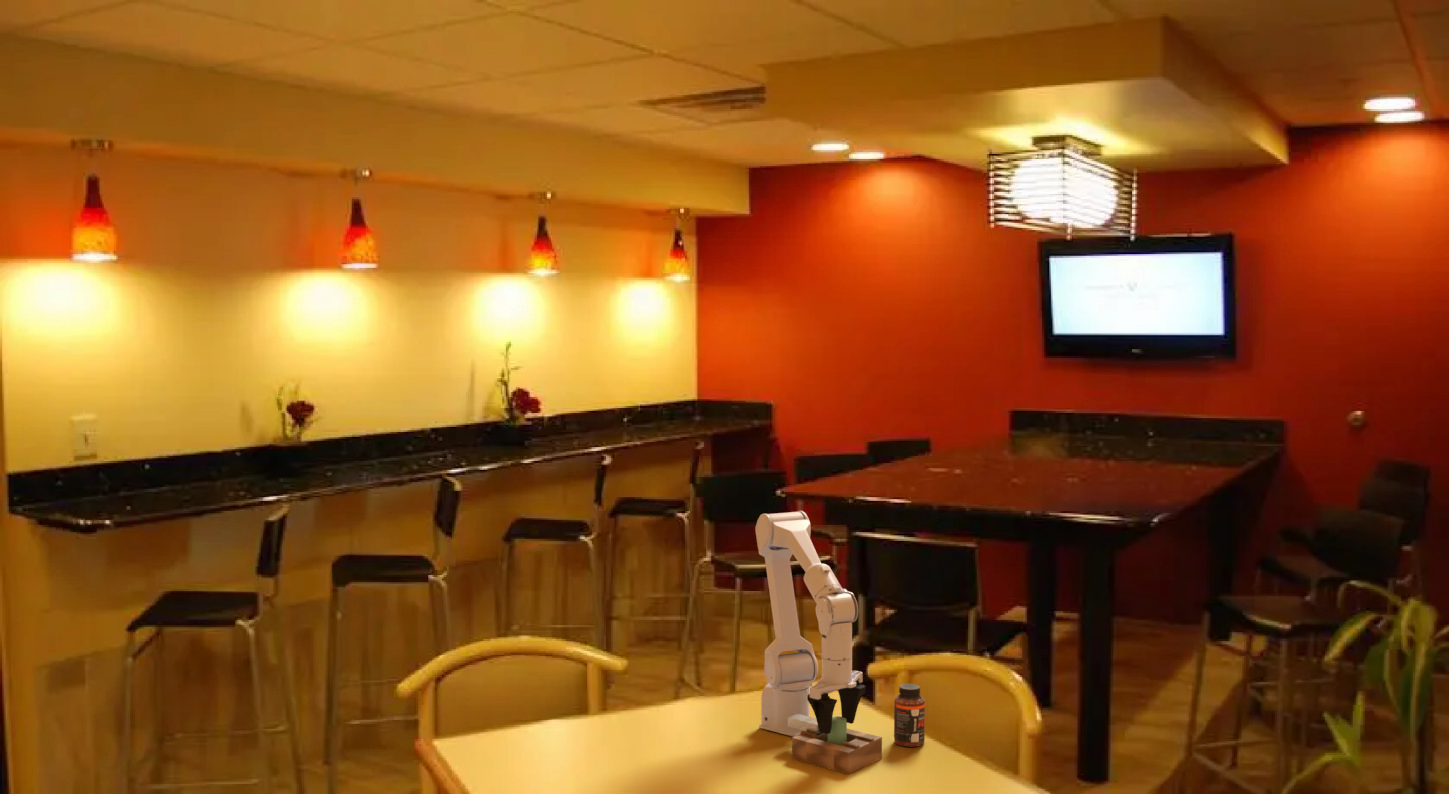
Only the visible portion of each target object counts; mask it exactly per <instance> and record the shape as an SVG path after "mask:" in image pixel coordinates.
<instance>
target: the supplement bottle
mask: <svg viewBox="0 0 1449 794" xmlns="http://www.w3.org/2000/svg"><path fill="white" fill-rule="evenodd" d="M898 692H899V695H896V696H895V698H894V703H893V704H894V707H893V711H894V712H893V714H894V715H893V717H894V719H893V720H894V722H893V723H894V724H893V732H894V733H893V737H894V742H895V743H896V744H897V745H899V746H902V747H905V746H906V747H908V748H910V747H911V748H916V747H917V748H918V747H920V746H923V744H925V735H926V734H925V733H926V732H925V731H926V730H925V729H926V726H925V725H926V724H925V723H926V722H925V721H926V718H925V717H926V714H925V713H926V707H925V706H926V700H925V698H924V697H923V696H922V695H920V694H921V687H920V685H918V684H914V683H903V684H900V685H899V690H898Z"/></svg>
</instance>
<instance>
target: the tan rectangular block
mask: <svg viewBox="0 0 1449 794" xmlns="http://www.w3.org/2000/svg"><path fill="white" fill-rule="evenodd" d="M788 727H792V728H795V729H799V730H803V731H807V732H811V733H815V734H818V733H821V732H820V731H819V727H818V723H817V720H816V717H813V716H810V715H809V716H805V715H801V714H795V715H793V716H790V717H788Z"/></svg>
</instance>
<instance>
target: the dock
mask: <svg viewBox="0 0 1449 794" xmlns="http://www.w3.org/2000/svg"><path fill="white" fill-rule="evenodd" d="M882 758H883V737H881V736H878V735H875V734H872V733H867V732H863V731H858V730H855V729H850V728H847V742H846V741H844V742H842V745H837V744H833V743H829V742H827V734H825V733H818V734H815V733H811V732H807V731H801V734H800V735H797V736H795V737H792V738H791V759H792V760H796V761H800V762H804V763H807V764H811V765H814V766H817V765H818V767H821V768H823V769H824V768H825V769H828V770H832V771H836V772H839V771H840V773H842V772H843V774H846V773H847V774H846V775H850V774H852V773H854V772H856V771H858V770H860V769H862V768H864V767H867V766H868V765H870V764H873V763H875V762H877V761H879V760H881V759H882ZM876 760H877V761H876ZM874 761H875V762H874ZM872 762H873V763H872ZM829 768H830V769H829Z"/></svg>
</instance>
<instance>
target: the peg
mask: <svg viewBox="0 0 1449 794" xmlns="http://www.w3.org/2000/svg"><path fill="white" fill-rule="evenodd" d="M847 724H848V723H847V719H846V718H844V717H842V716H836V715H835V716H832V727H831V732H830V734H827V742H829V743H833V744H837V745H842V742H844V741H846V742H847V729H848V728H847Z"/></svg>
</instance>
